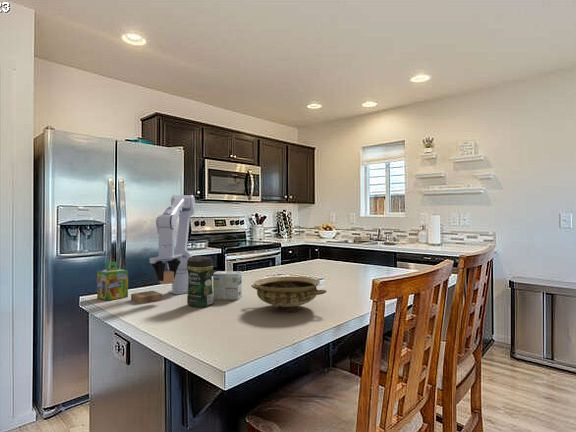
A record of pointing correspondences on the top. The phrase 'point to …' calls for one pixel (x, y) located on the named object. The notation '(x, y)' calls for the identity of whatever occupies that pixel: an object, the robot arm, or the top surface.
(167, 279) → the terracotta block
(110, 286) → the chalk box
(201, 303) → the coffee jar
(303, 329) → the top surface
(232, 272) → the light bulb box
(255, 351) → the top surface
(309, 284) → the ceramic bowl
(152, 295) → the walnut slab
